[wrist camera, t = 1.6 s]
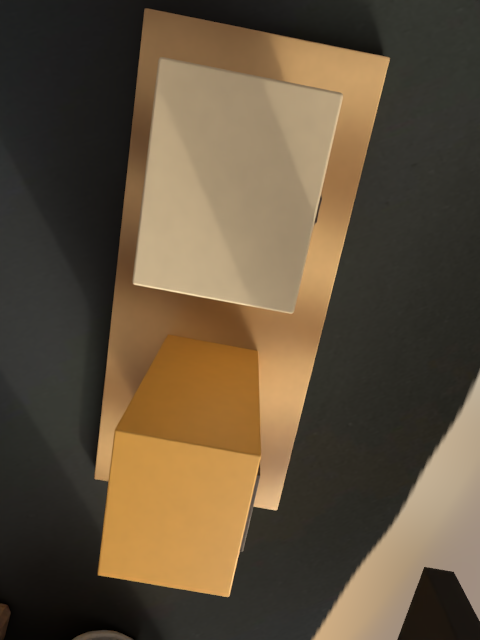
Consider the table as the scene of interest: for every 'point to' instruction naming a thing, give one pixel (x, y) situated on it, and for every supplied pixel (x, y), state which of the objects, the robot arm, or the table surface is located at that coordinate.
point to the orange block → (185, 469)
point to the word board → (224, 317)
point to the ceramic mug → (102, 636)
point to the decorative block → (4, 619)
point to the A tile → (232, 184)
